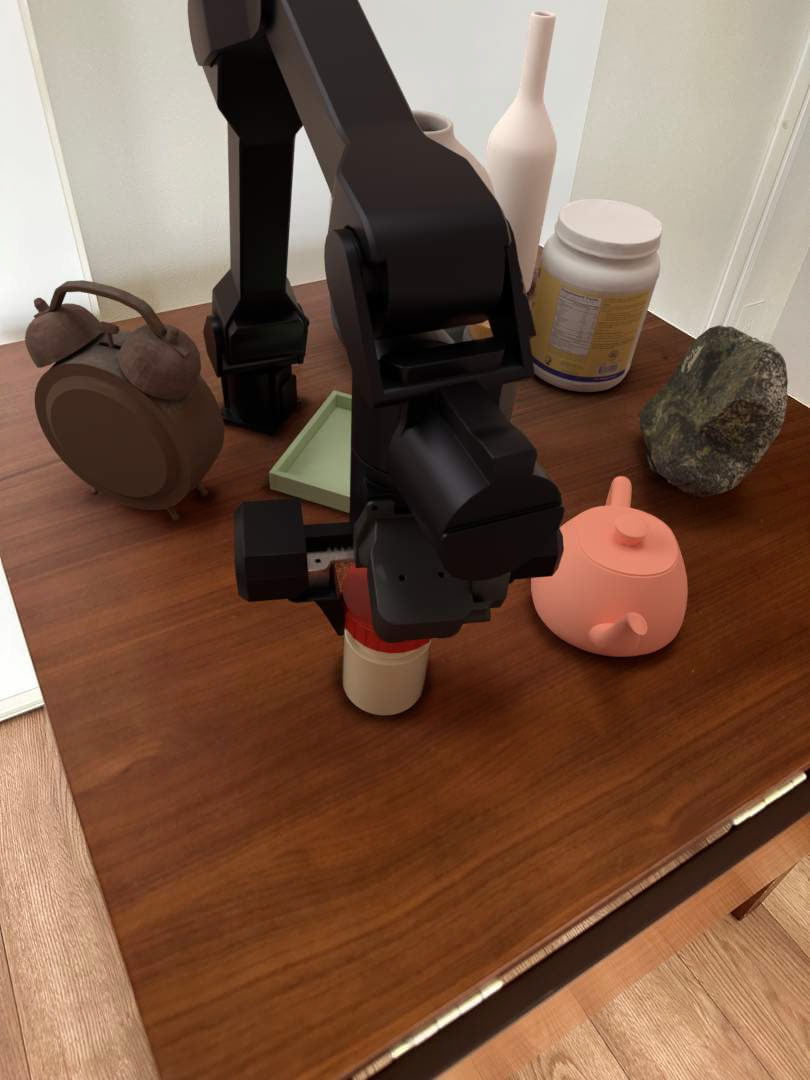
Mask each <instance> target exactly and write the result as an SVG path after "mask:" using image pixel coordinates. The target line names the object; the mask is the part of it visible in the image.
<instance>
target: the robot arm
mask: <svg viewBox="0 0 810 1080" xmlns="http://www.w3.org/2000/svg"><path fill="white" fill-rule="evenodd" d="M187 20H188V21H187V22H188V29H189V30H188V31H189V36H190V37H189V38H190V40H191V47H192V52H193V55H194V59H195V62H196V64H197V66H198V67H201V68H202V70H203V73H204V75H205V78H206V80H207V83H208V86H209V88H210V91H211V93H212V96H213V99H214V101H215V105H216V106H217V109H218V111H219V113H220V114H221V115H222V116H223V118H224V119H225V121H226V123H227V125H226V127H227V128H226V129H227V164H228V165H227V167H228V169H227V170H228V173H227V175H228V211H229V214H228V215H229V217H228V218H229V258H230V259H229V260H230V261H229V262H230V265H229V266H230V267H229V270H227V272H226V273H225V274H224V275H223V277H221V278H220V279H219V281H218V282H217V283H216V284H215V285H214V287H213V288H212V289H211V290H212V291H211V314H207V315H206V317H205V322H204V324H203V325H204V326H203V330H202V334H203V339H204V345H205V350H206V354H207V356H208V360H209V361H210V364H211V366H212V368H213V371H214V373H215V376H216V378H217V379H218V378H219V379H220V383H221V390H222V397H223V398H222V399H223V406H222V407H221V408H220V411H221V414H222V417H223V422H224V423H226V424H231V425H233V426H237V427H241V428H243V429H247V430H250V431H254V432H257V433H261V434H263V435H264V434H265V435H267V436H273V435H276V434H277V433H278V431H279V430H280V429H281V428H282V426H284V424H285V423H286V422H287V421H288V420H289V419H290V418H291V417H292V416H293V414H294V413H295V412H296V411H297V410H298V408H299V406H300V405H301V403H302V400H301V397H300V396H298V386H297V385H298V383H297V375H296V373H293V366H292V365H303V364H304V363H305V357H306V351H307V343H308V335H309V326H310V318H309V317H308V316H307V315H305V312H304V310H303V307H302V305H301V304H300V302H298V300H297V298H296V295H295V293H294V290H293V287H292V284H291V282H290V279H289V278H288V277H287V275H288V263H289V262H288V259H289V243H290V229H291V228H290V227H291V213H292V212H291V211H292V195H293V181H294V180H293V179H294V164H295V150H296V149H295V148H296V138H297V134H298V133H299V132H300V131H301V129H302V128H303V129H304V131H305V134H306V137H307V139H308V141H309V143H310V145H311V149H312V150H313V153H314V155H315V158H316V160H317V163H318V165H319V168H320V170H321V172H322V173H321V174H322V175H323V177H324V180H325V182H326V185H327V187H328V190H329V193H330V197H331V196H332V205H331V212H330V220H329V219H328V226H327V227H328V228H327V234H326V236H325V241H324V248H323V249H324V251H323V252H324V253H323V261H324V272H325V273H324V274H325V278H326V285H327V289H328V293H329V298H330V297H331V301H332V304H333V308H334V311H335V315H336V318H337V321H338V325H339V328H340V332H341V335H342V339H343V342H344V345H345V347H344V349H345V352H346V355H347V359H348V362H349V366H350V370H351V395H352V404H351V458H350V513H349V521H339V522H325V523H324V522H323V523H311V524H305V522H304V515H303V514H304V513H303V503H302V498H299V497H289V498H273V499H259V500H258V499H257V500H245V501H244V500H243V501H241V502H240V504H239V505H238V506H237V507H236V508H235V509H234V510H233V546H234V547H233V553H234V554H233V555H234V560H233V561H234V574H235V581H236V582H235V583H236V588H237V596H238V597H239V598H241V599H243V600H244V601H246V602H247V603H256V602H267V601H268V602H269V601H279V600H288V601H289V602H291V603H293V604H301V603H313V602H314V603H315V604H316V605H317V606H318V608H320V610H321V611H322V613H323V614H324V616H325V617H326V619H327V621H328V622H329V624H330V625H331V627H332V629H333V630H334V631H335V633H336V635H337V636H338V637H344V635H345V622H344V616H343V611H342V606H341V598H340V596H341V590H340V586H339V579H338V575H337V570H336V564H346V563H354V565H355V568H367V581H368V589H369V597H370V605H371V614H372V625H373V630H374V632H375V634H376V635H377V637H378V638H379V639H381V640H382V641H384V642H387V643H400V642H404V641H410V640H420V639H430V638H432V639H439V640H440V639H448V638H449V639H450V638H452V637H454V636H456V635H457V634H458V633H459V632H460V630H461V629H462V627H463V625H467V624H477V623H478V624H479V623H487V622H491V619H492V609H497V608H501V606H502V605H503V604H504V602H505V601H506V599H507V596H508V590H509V585H511V584H513V583H514V582H515V581H516V580H524V579H525V580H526V579H531V578H537V577H549V576H553V574H554V573H555V572H556V571H557V569H558V568H559V564H560V561H561V558H562V554H563V551H564V545H563V535H562V533H561V530H560V527H561V523H562V522H563V519H564V514H565V510H566V509H565V507H564V505H563V498H562V493H561V491H560V489H559V488H558V486H557V484H556V482H554V480H552V478H551V477H550V475H549V474H548V473H547V472H546V471H545V469H544V468H543V467H542V466H541V464H540V463H539V462H538V460H537V459H538V452H537V448H536V447H535V445H534V443H532V442H531V440H530V439H529V438H528V437H527V436H526V434H524V432H523V431H522V430H521V429H520V428H519V427H517V426H515V425H514V424H513V423H512V422H511V420H510V421H509V420H508V418H507V417H506V416H505V415H504V413H503V412H502V411H501V410H500V408H499V406H500V397H501V391H502V386H503V384H509V383H514V382H518V383H519V382H524V381H528V380H529V381H530V380H533V379H534V376H535V373H534V366H533V359H532V352H531V345H530V339H531V338H533V337H534V336H536V331H535V327H534V323H533V319H532V314H531V306H530V302H529V298H528V295H527V293H526V289H525V285H524V281H523V277H522V273H521V269H520V265H519V260H518V254H517V247H516V242H515V237H514V233H513V230H512V228H511V226H510V223H509V221H508V220H507V219H506V217H505V215H504V212H503V210H502V208H501V207H500V205H499V203H498V201H497V200H496V198H495V197H494V196H493V194H492V193H491V191H490V190H489V189H488V187H487V186H486V184H485V183H484V182H483V180H482V179H481V178H480V176H479V175H478V173H477V172H476V171H475V169H474V168H473V166H472V165H471V164H470V163H469V161H468V160H467V159H466V158H464V157H463V156H461V155H459V154H457V153H455V152H454V151H452V150H450V149H448V148H446V147H445V146H443V145H441V144H439V143H438V142H436V141H434V140H432V139H430V138H429V137H427V136H426V135H425V134H424V132H423V131H422V129H421V128H420V126H419V125H418V123H417V121H416V119H415V117H414V115H413V113H412V111H411V110H412V109H411V106H410V104H409V102H408V101H407V98H406V96H405V94H404V92H403V90H402V88H401V85H400V84H399V82H398V79H397V78H396V75H395V73H394V71H393V70H392V67H391V65H390V63H389V61H388V59H387V57H386V55H385V52H384V51H383V48H382V46H381V44H380V42H379V40H378V38H377V36H376V34H375V32H374V29H373V28H372V25H371V24H370V22H369V19H368V18H367V15H366V14H365V11H364V9H363V7H362V5H361V3H360V1H359V0H187ZM487 320H488V322H489V325H490V328H491V331H492V334H493V337H488V338H482V339H476V340H470V341H464V342H458V343H455V342H454V341H453V339H452V338H451V337H450V336H449V335H448V334H447V333H446V332H445V331H444V330H443V329H449V328H455V327H461V326H468V325H474V324H480V323H483V322H485V321H487Z"/></svg>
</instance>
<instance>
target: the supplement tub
mask: <svg viewBox="0 0 810 1080" xmlns="http://www.w3.org/2000/svg"><path fill="white" fill-rule="evenodd" d="M663 227H664V226H663V224H662V222H661V221H660V219H659V218H658V217H656V216H655V215H654V214H653V213H651V212H650V211H648V210H647V209H644V208H642V207H640V206H638V205H634V204H631V203H627V202H624V201H620V200H613V199H605V198H586V199H585V198H584V199H577V200H574V201H571V202H568V203H566V204H565V205H563V206H562V207H561V208H560V209H559V213H558V216H557V221H556V222H555V224H554V232H553V234H551V235H550V236H549V238H548V239H547V240H546V241H545V243H544V246H543V248H542V251H541V257H540V262H539V267H538V271H537V276H536V277H537V278H536V282H535V288H534V293H533V298H532V303H531V306H530V310H531V314H532V319H533V323H534V327H535V331H536V336H534V337H533V338H531V339H530V345H531V352H532V359H533V366H534V375H535V376H537V377H538V378H539V379H541V380H542V381H544V382H545V383H548V384H550V385H552V386H554V387H556V388H559V389H562V390H567V391H571V392H577V393H595V392H602V391H603V392H604V391H607V390H609V389H612V388H613V387H615V386H617V385H618V384H619V383H621V382H622V381H623V379H624V378H625V377H626V375H627V374H628V372H629V371H630V369H631V365H632V361H633V357H634V354H635V351H636V348H637V344H638V342H639V339H640V335H641V332H642V329H643V326H644V322H645V319H646V317H647V313H648V310H649V307H650V303H651V300H652V297H653V294H654V291H655V288H656V285H657V282H658V279H659V277H660V271H661V259H660V256H659V253H658V250H660V247H661V238H662V234H663V230H664V228H663Z"/></svg>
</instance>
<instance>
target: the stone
mask: <svg viewBox="0 0 810 1080" xmlns="http://www.w3.org/2000/svg"><path fill="white" fill-rule="evenodd" d="M788 379H789V378H788V371H787V364H786V361H785V358H784V356H782V354H781V353H780V351H779V350H777V349H776V347H775V346H774V345H773V344H771V343H770V342H765V341H762V340H760V339H758V338H757V337H752V336H751V335H749V334H748V333H745V332H743V331H741V330H739V329H737V328H735V327H734V326H723V325H720V324H719V325H716V326H712V327H709V328H707V329H706V330H705V331H704V332H702V333H701V334H700V335H699V336H697V337H696V339H694V341H693V342H692V343H691V345H690V346H689V348H688V349H687V351H686V353H685V354H684V356H683V358H682V360H681V361H680V363H679V365H678V366H677V368H676V370H675V372H674V373H673V374H672V375H671V376H670V378H669V379H667V381H666V384H665V385H664V386H662V388H661V389H660V390H659V391H658V392H657V393H655V395H654V396H653V397H652V398H651V399H649V400H648V402H646V403H645V404H644V405H643V406H642V408H641V410H640V412H639V413H637V417H638V423H639V429H640V431H641V434H642V436H643V439H644V443H645V446H646V447H645V448H646V460H647V462H648V464H649V468H650V470H651V471H652V472H653V473H655V474H657V475H660V476H662V477H663V478H665V479H666V481H667V482H668V483H669V484H671V485H672V486H673V487H677V488H678V489H679V490H680V491H682V492H684V493H686V494H690V495H691V496H693V497H698V498H699V497H700V498H705V497H706V498H707V497H713V496H716V495H719V494H724V493H727V492H729V491H731V490H732V489H734V488H736V487H738V485H739V484H740V483H741V482H742V480H743V479H744V478H745V477H746V476H747V475H748V474H749V473H751V472H752V471H753V469H755V468H756V467H757V466H758V465H759V463H760V462H761V461H762V459H763V458H764V456H765V454H766V453H767V451H768V449H769V448H770V447H771V445H772V444H773V443H774V441H775V439H776V438H777V437H778V435H779V434H780V432H781V430H782V428H783V424H784V421H785V417H786V413H787V407H788V402H789V398H788V385H789V380H788Z"/></svg>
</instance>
